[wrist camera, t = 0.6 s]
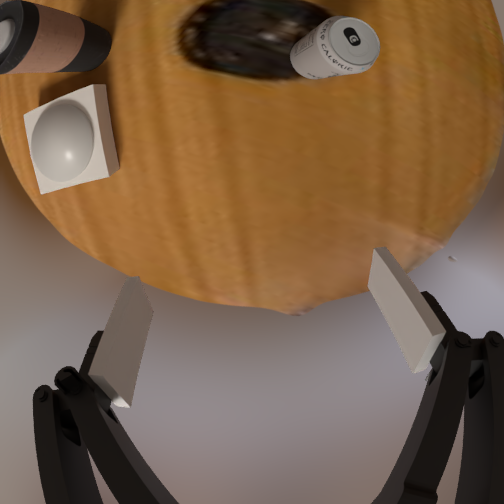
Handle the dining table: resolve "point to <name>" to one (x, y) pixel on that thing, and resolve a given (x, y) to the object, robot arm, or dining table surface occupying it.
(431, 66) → the dining table surface
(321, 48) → the energy drink can
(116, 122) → the dining table surface
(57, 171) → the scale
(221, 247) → the dining table surface
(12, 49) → the travel mug
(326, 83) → the dining table surface
